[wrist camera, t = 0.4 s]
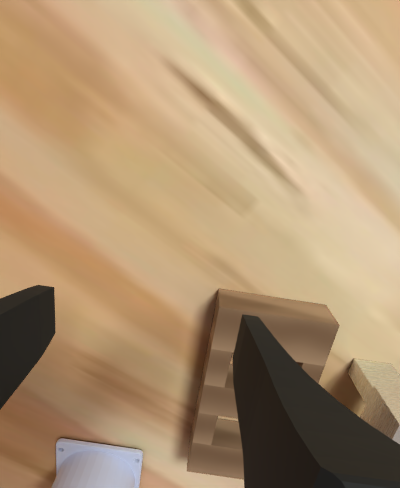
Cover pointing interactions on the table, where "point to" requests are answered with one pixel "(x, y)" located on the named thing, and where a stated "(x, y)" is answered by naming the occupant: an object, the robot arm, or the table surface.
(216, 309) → the walnut mortise block
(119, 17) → the table surface
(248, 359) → the robot arm
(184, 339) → the table surface
